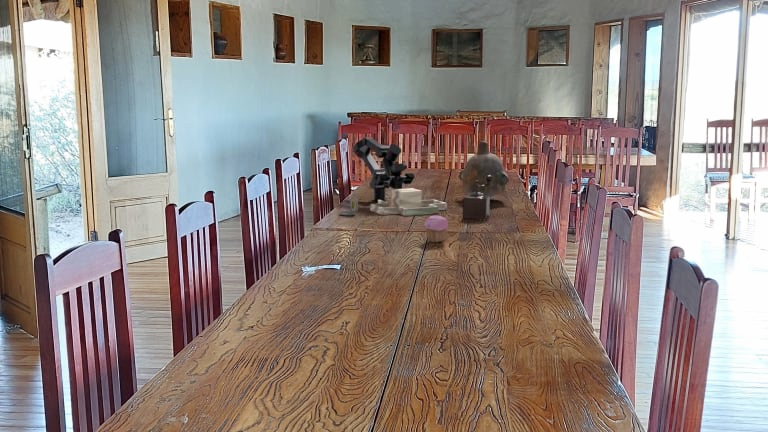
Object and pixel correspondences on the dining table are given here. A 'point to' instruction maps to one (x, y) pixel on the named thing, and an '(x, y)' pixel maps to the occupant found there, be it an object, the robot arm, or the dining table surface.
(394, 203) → the birch block
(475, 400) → the dining table surface
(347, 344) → the dining table surface
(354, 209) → the pocket watch
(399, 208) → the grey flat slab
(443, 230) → the cupcake
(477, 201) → the manual coffee grinder
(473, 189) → the jug
